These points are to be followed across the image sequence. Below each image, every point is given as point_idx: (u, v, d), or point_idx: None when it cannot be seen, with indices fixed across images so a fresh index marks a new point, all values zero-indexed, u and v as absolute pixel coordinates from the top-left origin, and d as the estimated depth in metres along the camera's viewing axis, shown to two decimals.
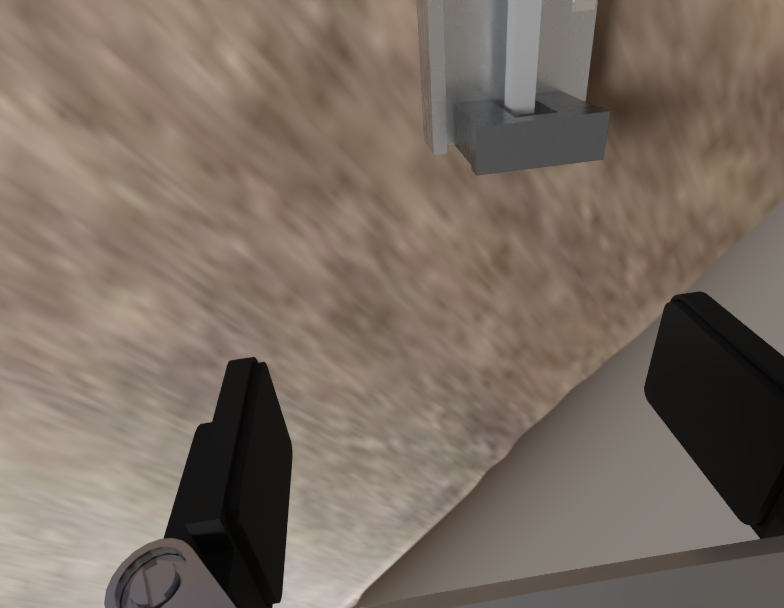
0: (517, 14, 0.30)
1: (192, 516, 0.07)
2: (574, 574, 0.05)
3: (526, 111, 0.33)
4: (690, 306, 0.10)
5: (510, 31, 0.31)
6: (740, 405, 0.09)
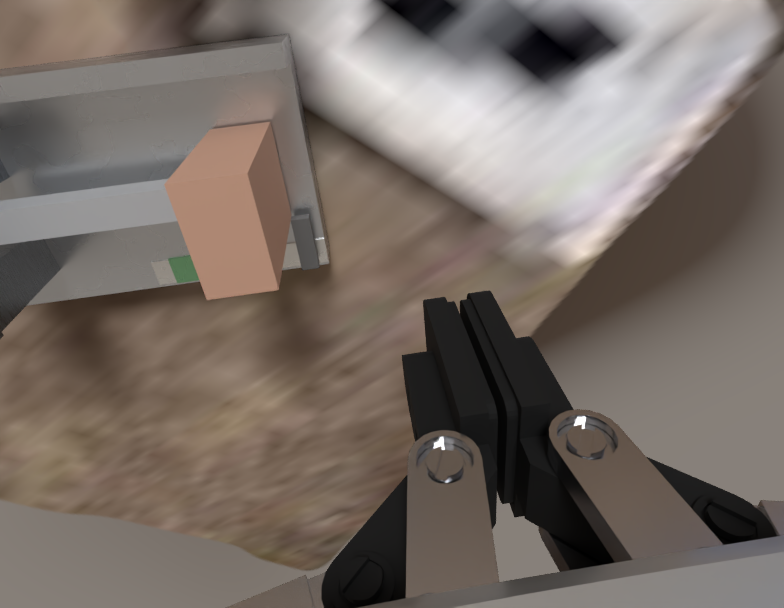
0: (98, 200, 0.22)
1: (464, 411, 0.08)
2: (574, 573, 0.05)
3: None
4: (472, 304, 0.11)
5: (83, 194, 0.23)
6: None
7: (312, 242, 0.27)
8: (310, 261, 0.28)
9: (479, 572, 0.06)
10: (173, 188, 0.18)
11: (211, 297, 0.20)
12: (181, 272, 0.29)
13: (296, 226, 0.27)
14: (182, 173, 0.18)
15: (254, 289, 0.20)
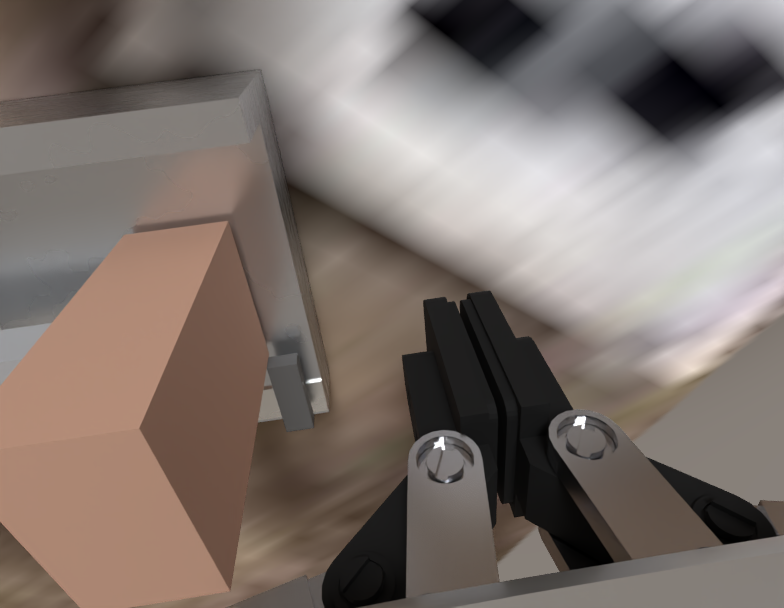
0: None
1: (464, 411, 0.08)
2: (574, 574, 0.05)
3: None
4: (472, 304, 0.11)
5: None
6: None
7: (302, 395, 0.17)
8: (299, 420, 0.18)
9: (480, 571, 0.06)
10: None
11: None
12: None
13: (276, 375, 0.17)
14: (6, 403, 0.08)
15: (181, 594, 0.10)
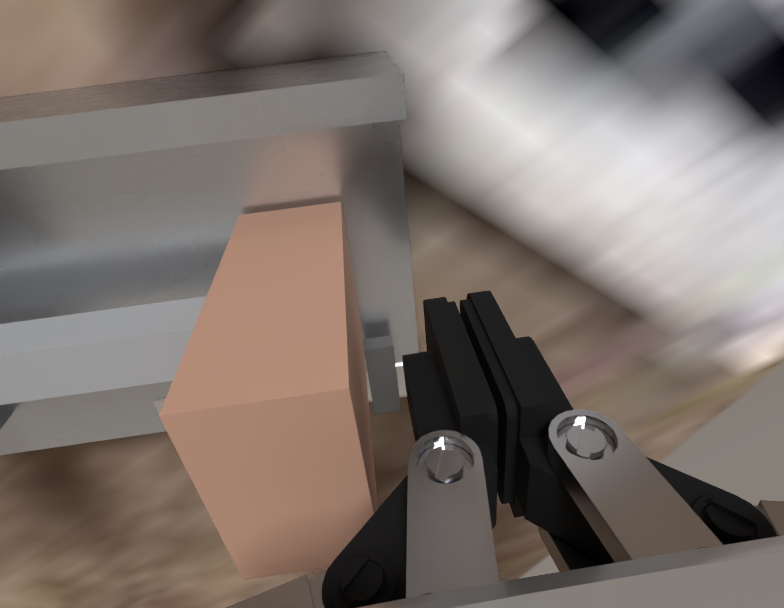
0: (42, 353, 0.13)
1: (464, 411, 0.08)
2: (574, 574, 0.05)
3: None
4: (472, 304, 0.11)
5: (19, 335, 0.13)
6: None
7: (394, 378, 0.17)
8: (388, 403, 0.18)
9: (480, 571, 0.06)
10: (180, 421, 0.08)
11: (252, 576, 0.10)
12: None
13: (372, 357, 0.17)
14: (199, 367, 0.09)
15: None
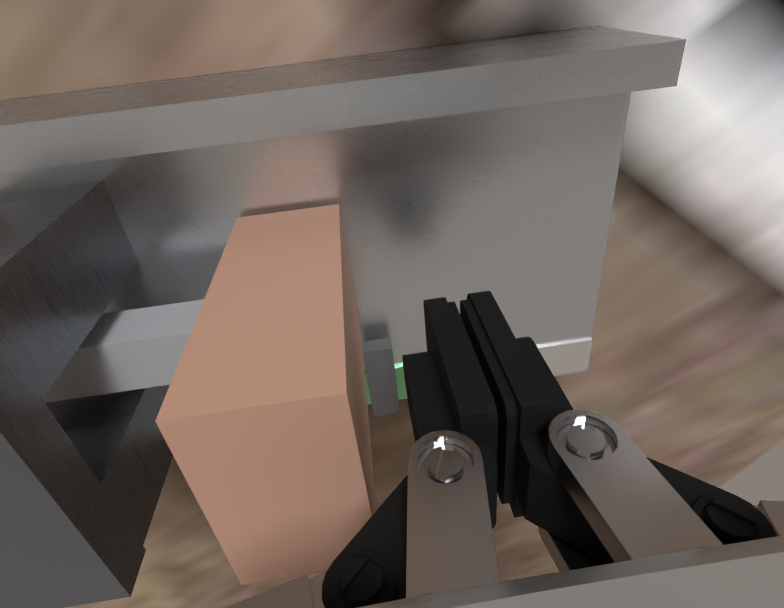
0: None
1: (464, 411, 0.08)
2: (574, 574, 0.05)
3: None
4: (472, 304, 0.11)
5: None
6: None
7: (393, 380, 0.17)
8: (387, 405, 0.18)
9: (480, 572, 0.06)
10: (177, 426, 0.08)
11: (250, 581, 0.10)
12: None
13: (371, 360, 0.17)
14: (196, 372, 0.09)
15: None
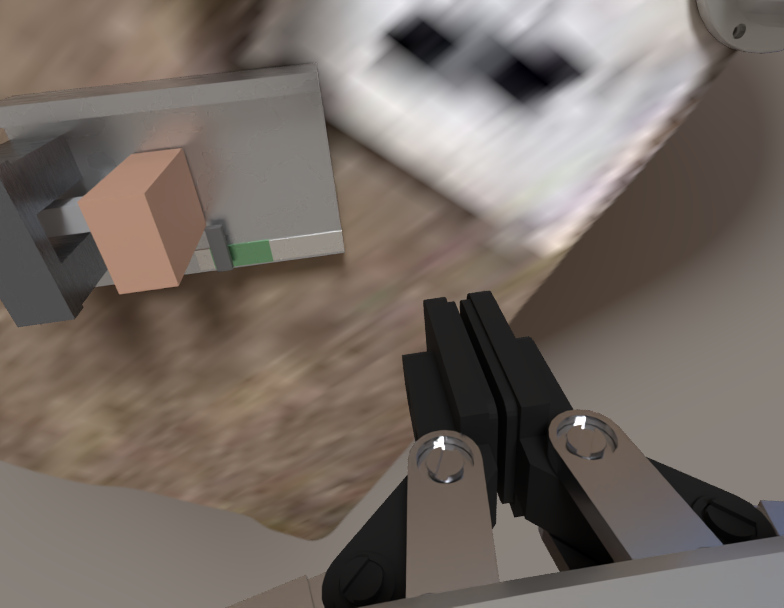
0: None
1: (464, 411, 0.08)
2: (574, 574, 0.05)
3: None
4: (472, 304, 0.11)
5: None
6: None
7: (224, 248, 0.32)
8: (224, 264, 0.33)
9: (480, 571, 0.06)
10: (85, 205, 0.23)
11: (122, 292, 0.25)
12: None
13: (209, 234, 0.32)
14: (94, 192, 0.23)
15: (158, 285, 0.25)
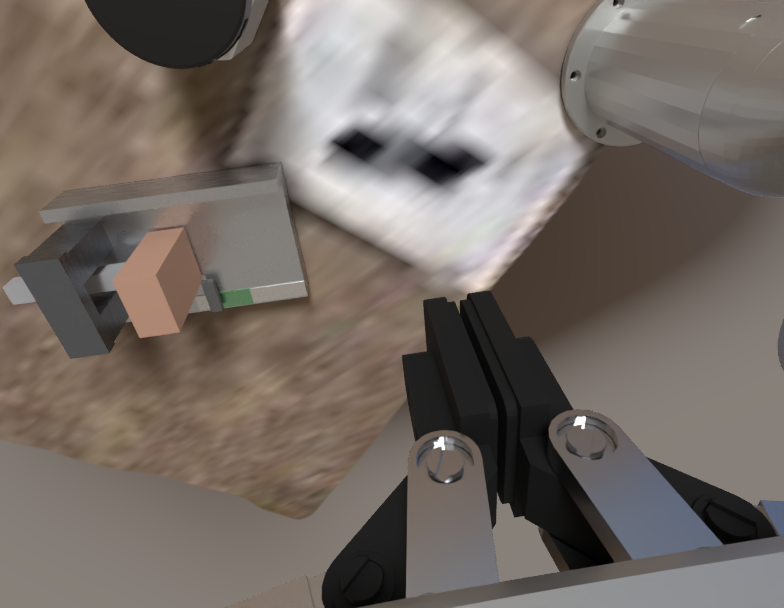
0: None
1: (464, 411, 0.08)
2: (574, 574, 0.05)
3: (11, 298, 0.39)
4: (472, 304, 0.11)
5: None
6: None
7: (216, 296, 0.43)
8: (216, 307, 0.44)
9: (480, 572, 0.06)
10: (117, 282, 0.34)
11: (142, 336, 0.36)
12: None
13: (205, 286, 0.43)
14: (123, 272, 0.35)
15: (166, 332, 0.36)
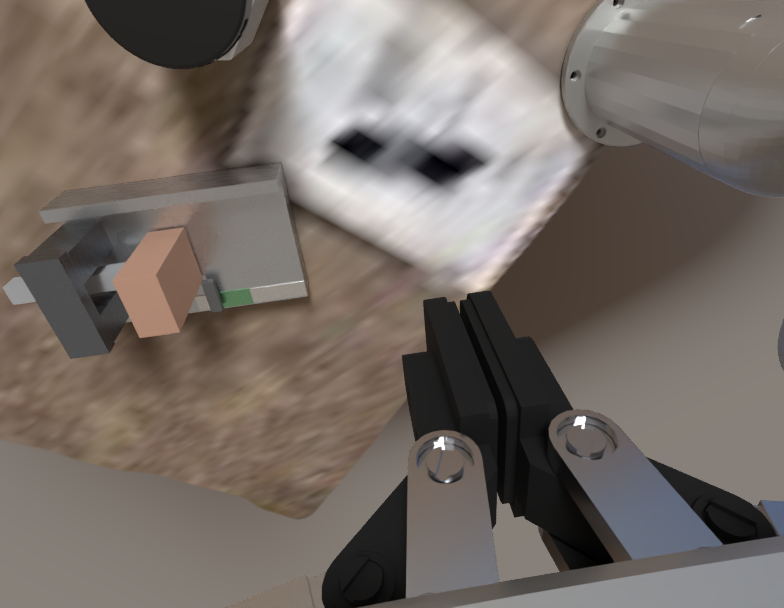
0: None
1: (464, 411, 0.08)
2: (574, 574, 0.05)
3: (11, 298, 0.39)
4: (472, 304, 0.11)
5: None
6: None
7: (216, 296, 0.43)
8: (216, 307, 0.44)
9: (480, 572, 0.06)
10: (117, 282, 0.34)
11: (142, 336, 0.36)
12: None
13: (205, 286, 0.43)
14: (123, 272, 0.35)
15: (166, 332, 0.36)
